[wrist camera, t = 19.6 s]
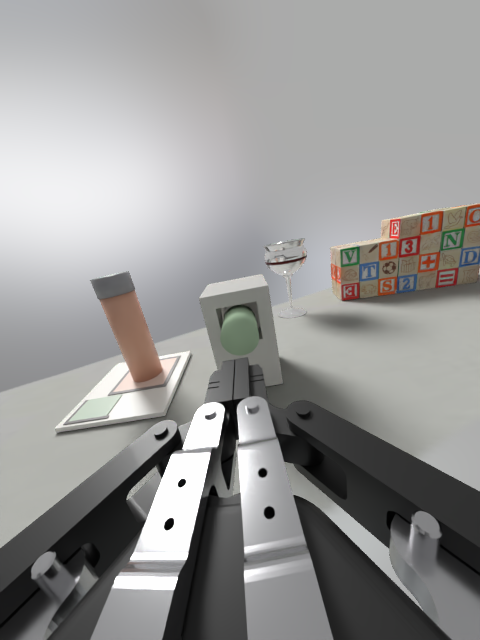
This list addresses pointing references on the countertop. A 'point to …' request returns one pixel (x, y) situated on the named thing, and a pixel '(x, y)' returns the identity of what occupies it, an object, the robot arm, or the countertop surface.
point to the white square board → (127, 396)
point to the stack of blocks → (411, 255)
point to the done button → (239, 330)
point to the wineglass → (287, 267)
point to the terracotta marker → (128, 325)
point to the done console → (258, 300)
